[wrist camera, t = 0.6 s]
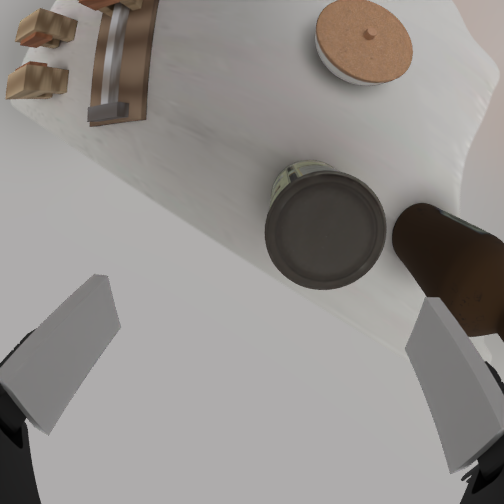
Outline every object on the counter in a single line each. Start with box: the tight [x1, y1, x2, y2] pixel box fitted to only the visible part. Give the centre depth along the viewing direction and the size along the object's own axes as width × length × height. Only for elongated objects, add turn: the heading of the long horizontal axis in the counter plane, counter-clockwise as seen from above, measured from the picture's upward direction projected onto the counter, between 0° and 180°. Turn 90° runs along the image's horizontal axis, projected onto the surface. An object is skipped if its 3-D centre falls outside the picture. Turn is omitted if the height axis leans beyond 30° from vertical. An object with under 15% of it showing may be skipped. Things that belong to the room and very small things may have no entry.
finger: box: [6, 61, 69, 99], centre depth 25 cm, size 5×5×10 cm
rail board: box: [87, 0, 159, 127], centre depth 25 cm, size 26×9×4 cm, turn 177°
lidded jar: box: [315, 0, 413, 86], centre depth 22 cm, size 11×11×9 cm
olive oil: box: [392, 203, 504, 342], centre depth 23 cm, size 11×11×25 cm
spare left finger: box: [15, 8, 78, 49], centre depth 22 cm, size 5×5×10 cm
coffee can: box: [265, 160, 386, 290], centre depth 28 cm, size 10×10×14 cm
